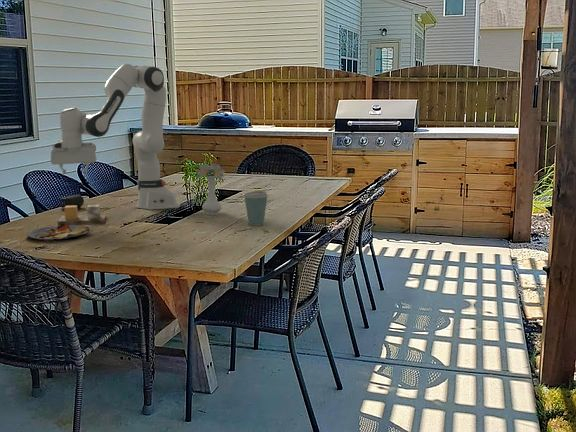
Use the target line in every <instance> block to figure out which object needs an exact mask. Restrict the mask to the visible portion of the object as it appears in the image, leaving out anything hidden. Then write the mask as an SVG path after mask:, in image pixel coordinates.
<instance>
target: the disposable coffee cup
mask: <svg viewBox="0 0 576 432" xmlns="http://www.w3.org/2000/svg"><path fill="white" fill-rule="evenodd" d="M243 198H244V203H245V209H246V214H247V215H246V216H247V219H248V225H249V226H253V227H255V226H263V225H264V223H265V216H266V208H267V199H268V194H267V191H264V190H255V191H250V192H249V191H248V192H246V193H244V195H243Z"/></svg>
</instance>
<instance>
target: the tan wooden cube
mask: <svg viewBox="0 0 576 432" xmlns="http://www.w3.org/2000/svg"><path fill="white" fill-rule="evenodd" d="M64 209H65V210H64V216H65V219H77V218H78V215H79V213H78V212H79V211H78V209H79V208H77V205H72V206H65V207H64Z"/></svg>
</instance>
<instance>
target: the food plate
mask: <svg viewBox="0 0 576 432" xmlns="http://www.w3.org/2000/svg"><path fill="white" fill-rule="evenodd" d="M90 231H91V230H90V227H89V226H84V225H83V226H82V225H74V224H61V225H56V226H47V227H46V226H45V227H41V228H37V229H33V230H30V231H28V232H27V233H25V235H26V236H27V237H29V238H32V239H37V240H41V241H45V242H46V241H49V242H51V241H54V240H55V239H56V241H57V240H58V241H59V240H65V239H67V240H68V239H69V238H76V237H78V236H82V235H87V234H88V233H89V232H90Z"/></svg>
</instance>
